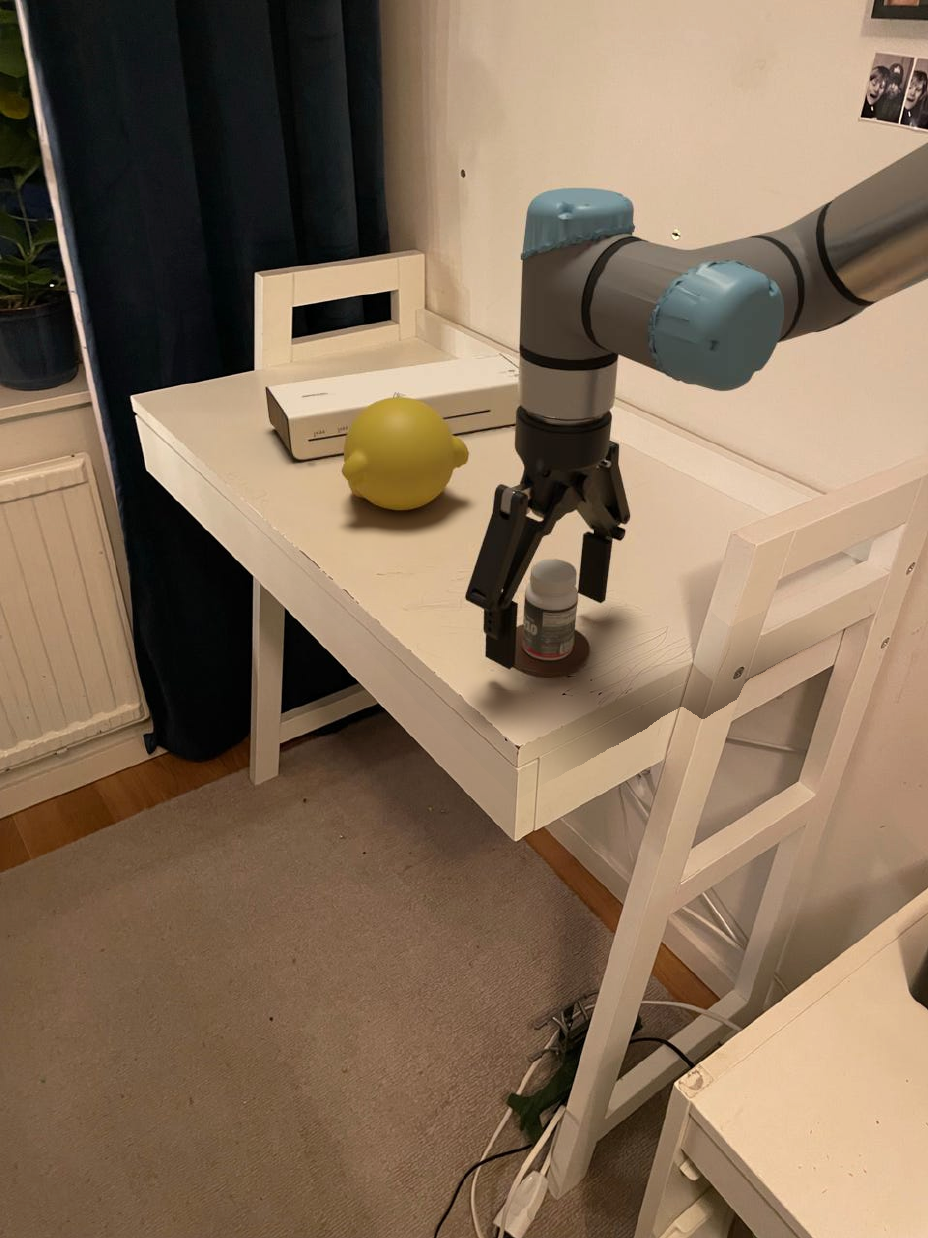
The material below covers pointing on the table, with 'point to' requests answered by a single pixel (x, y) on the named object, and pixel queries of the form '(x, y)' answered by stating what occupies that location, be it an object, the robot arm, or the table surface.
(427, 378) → the laminator
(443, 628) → the table surface
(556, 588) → the pill bottle
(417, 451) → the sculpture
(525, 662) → the coaster
